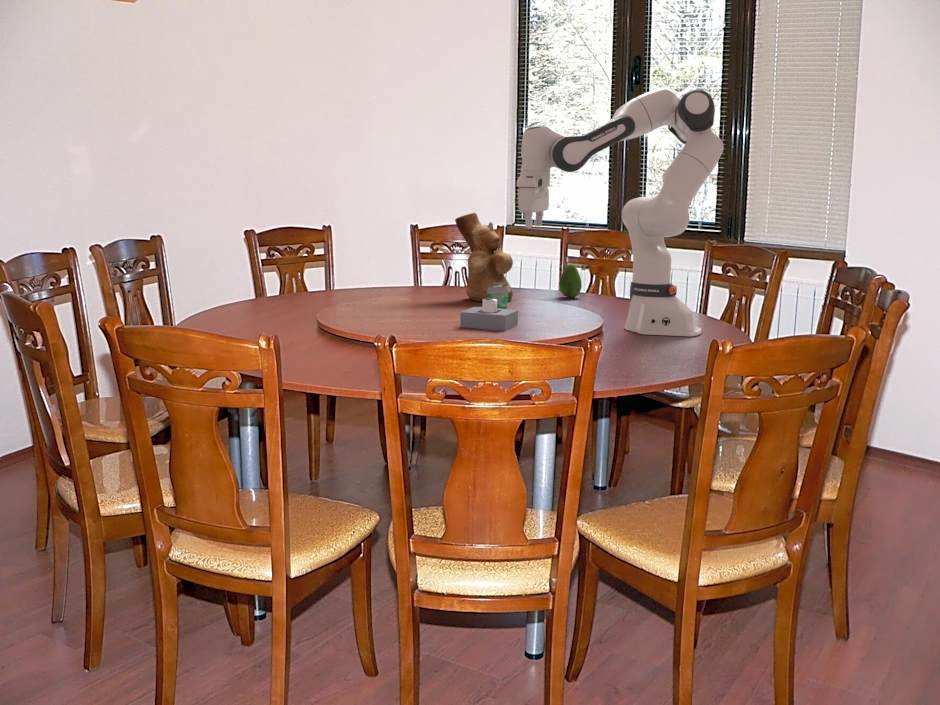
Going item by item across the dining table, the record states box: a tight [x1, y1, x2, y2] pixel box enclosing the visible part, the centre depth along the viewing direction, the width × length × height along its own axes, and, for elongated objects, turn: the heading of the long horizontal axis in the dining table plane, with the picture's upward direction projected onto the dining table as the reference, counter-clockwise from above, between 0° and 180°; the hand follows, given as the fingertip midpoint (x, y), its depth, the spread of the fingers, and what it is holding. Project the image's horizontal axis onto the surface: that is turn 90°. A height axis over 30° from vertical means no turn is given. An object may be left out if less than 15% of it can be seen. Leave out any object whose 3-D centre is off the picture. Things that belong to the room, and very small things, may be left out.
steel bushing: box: [481, 298, 497, 313], centre depth 320 cm, size 4×4×8 cm
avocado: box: [558, 264, 582, 299], centre depth 383 cm, size 8×8×12 cm
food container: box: [487, 282, 511, 309], centre depth 338 cm, size 12×6×10 cm, turn 168°
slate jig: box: [459, 306, 519, 332], centre depth 320 cm, size 14×12×4 cm
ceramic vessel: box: [454, 212, 514, 302], centre depth 372 cm, size 16×22×30 cm
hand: (533, 226), depth 324 cm, fingers open, 8 cm apart
